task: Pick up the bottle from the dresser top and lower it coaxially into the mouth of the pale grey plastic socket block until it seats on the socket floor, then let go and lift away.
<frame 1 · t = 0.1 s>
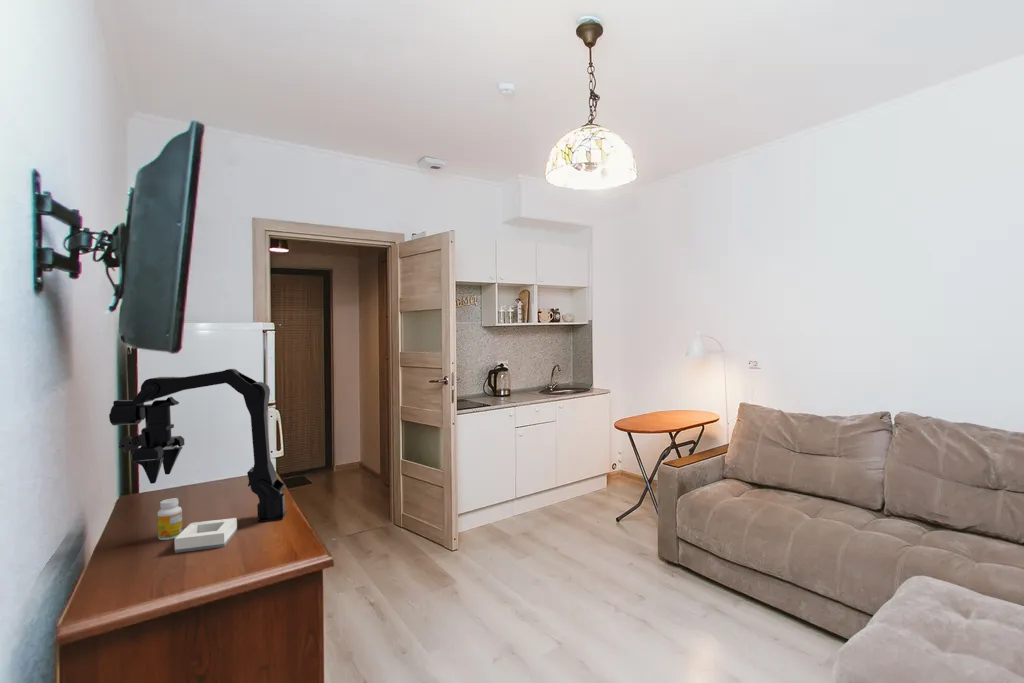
hand: (160, 478, 136), 14 cm above the dresser top, tool pointing down, fingers open, 9 cm apart
supplement bottle: (170, 537, 131), on the dresser top
socket block: (207, 541, 128), on the dresser top
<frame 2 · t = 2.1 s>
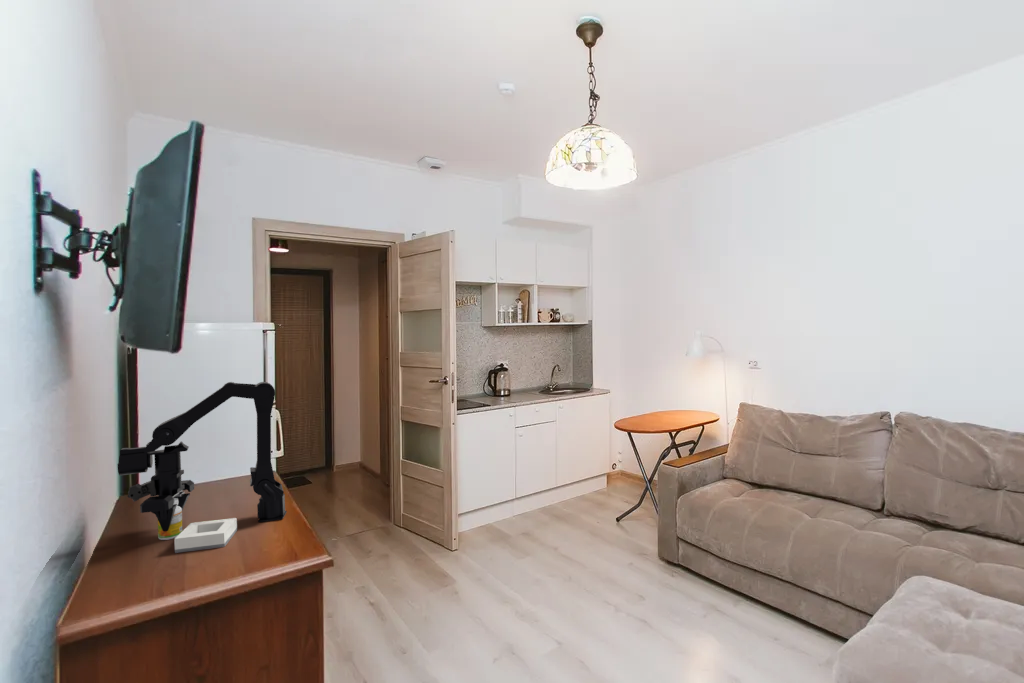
hand: (170, 527, 131), 3 cm above the dresser top, tool pointing down, fingers closed on supplement bottle, 5 cm apart
supplement bottle: (170, 537, 131), on the dresser top, touching gripper
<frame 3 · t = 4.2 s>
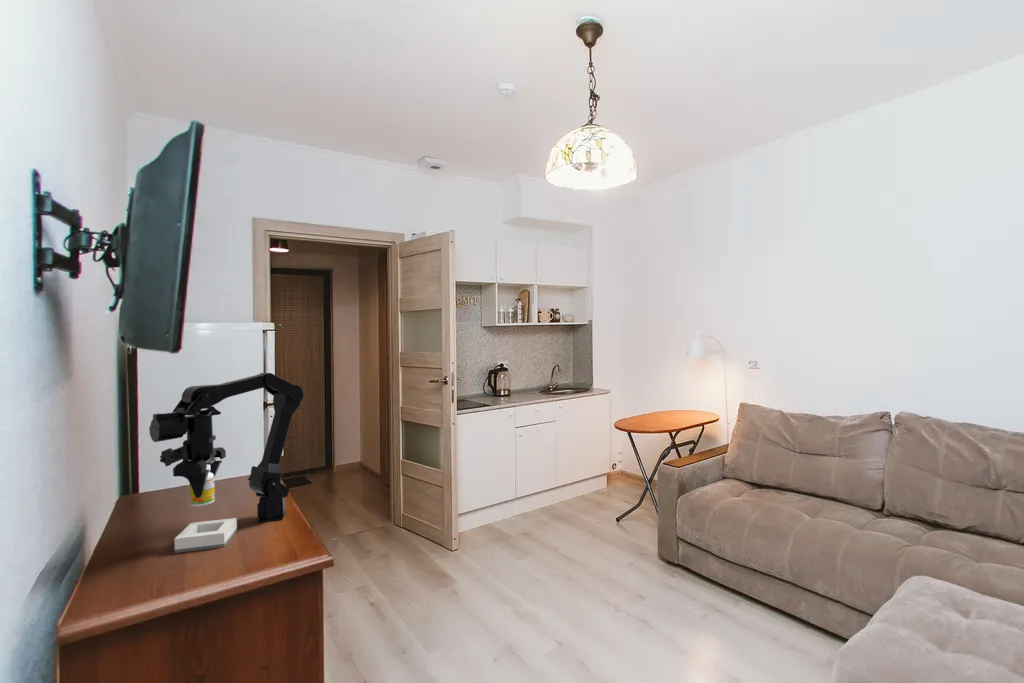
hand: (202, 493, 128), 12 cm above the dresser top, tool pointing down, fingers closed on supplement bottle, 5 cm apart
supplement bottle: (203, 504, 128), point 10 cm above the dresser top, touching gripper
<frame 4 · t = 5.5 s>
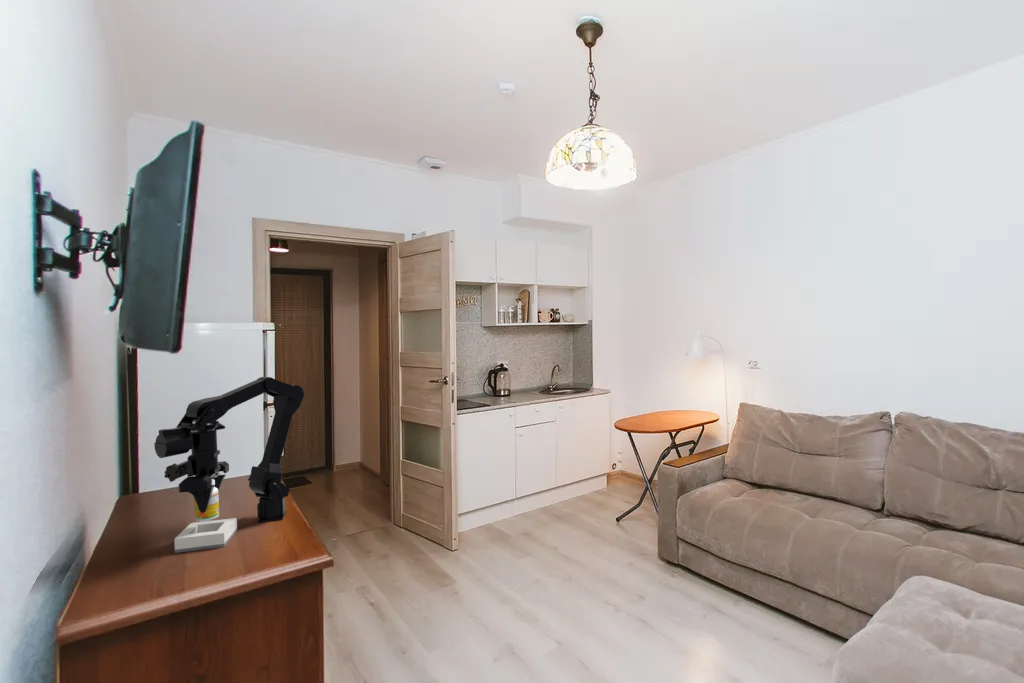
hand: (207, 508, 128), 8 cm above the dresser top, tool pointing down, fingers closed on supplement bottle, 5 cm apart
supplement bottle: (207, 518, 128), point 6 cm above the dresser top, touching gripper
when the fingers open (5 cm above the dresser top, at t = 6.6 s): supplement bottle drops 1 cm, resting on socket block.
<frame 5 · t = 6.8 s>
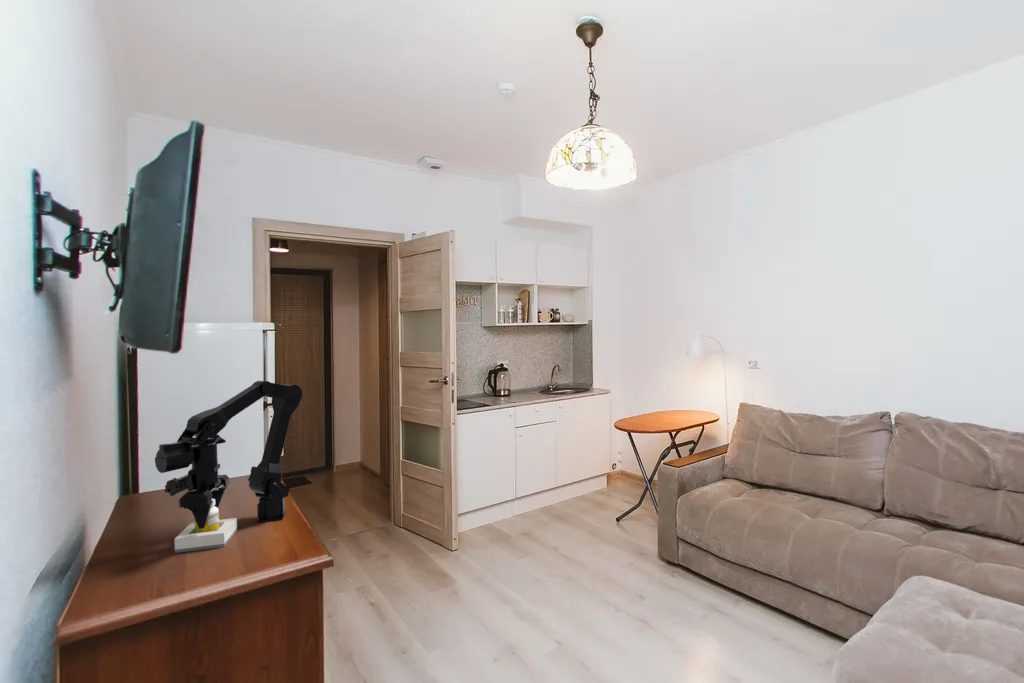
hand: (207, 522, 127), 5 cm above the dresser top, tool pointing down, fingers open, 8 cm apart
supplement bottle: (207, 538, 128), point 1 cm above the dresser top, touching socket block
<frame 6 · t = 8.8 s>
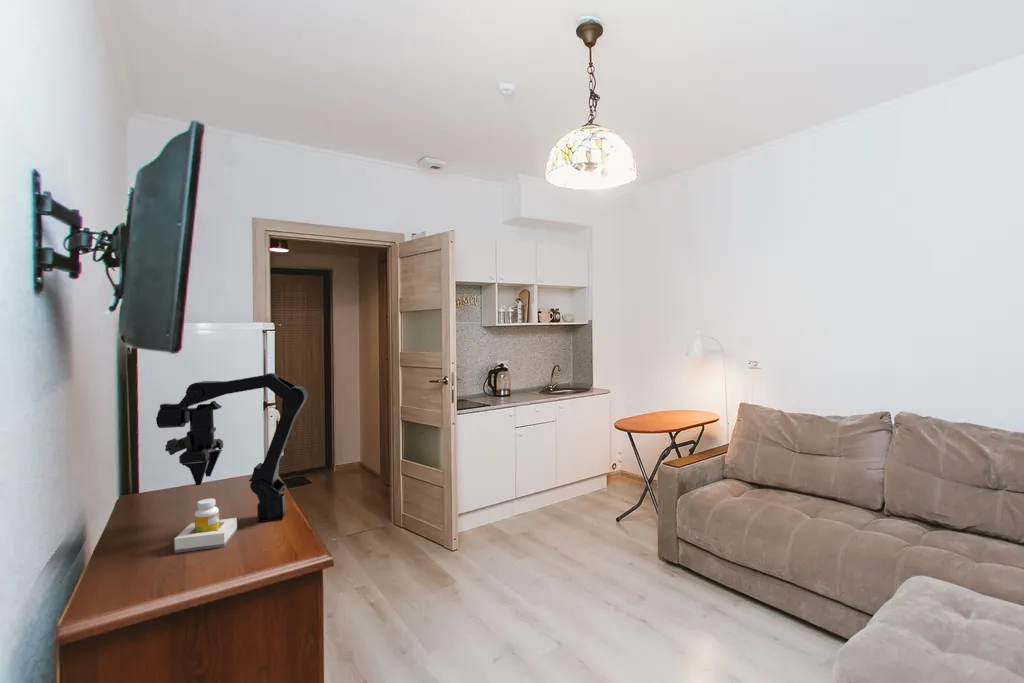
hand: (203, 480, 139), 13 cm above the dresser top, tool pointing down, fingers open, 9 cm apart
nothing on the dresser top moved.
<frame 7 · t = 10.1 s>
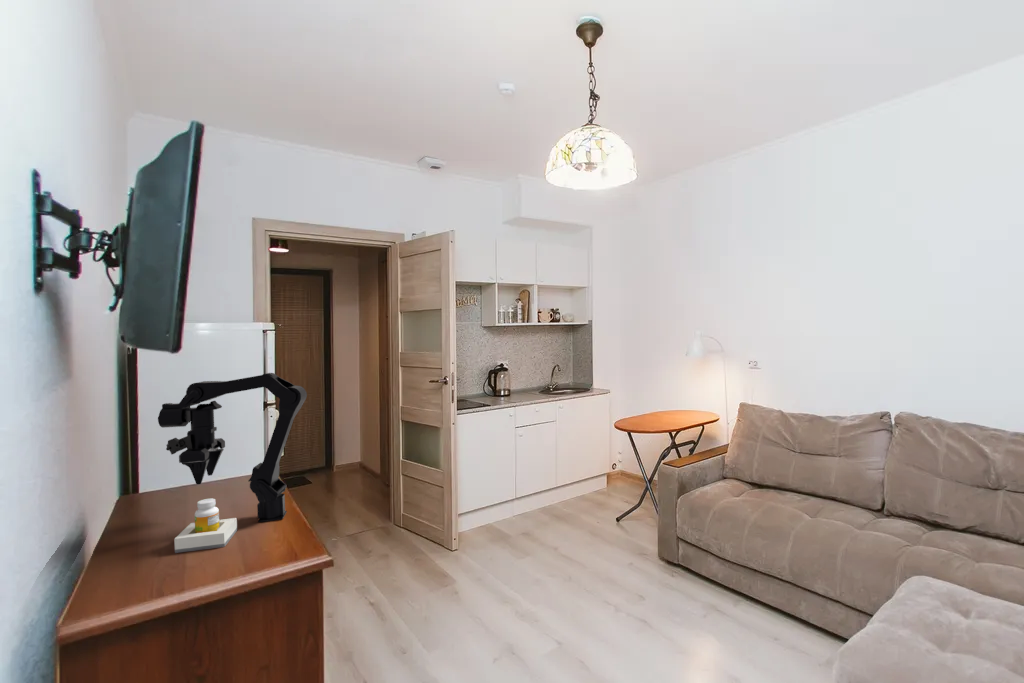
hand: (204, 479, 141), 12 cm above the dresser top, tool pointing down, fingers open, 9 cm apart
nothing on the dresser top moved.
at the end: supplement bottle 0.1 cm off-centre on the socket block, point 0.6 cm above the socket block's base; supplement bottle tilted 0°; the gripper is holding nothing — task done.
